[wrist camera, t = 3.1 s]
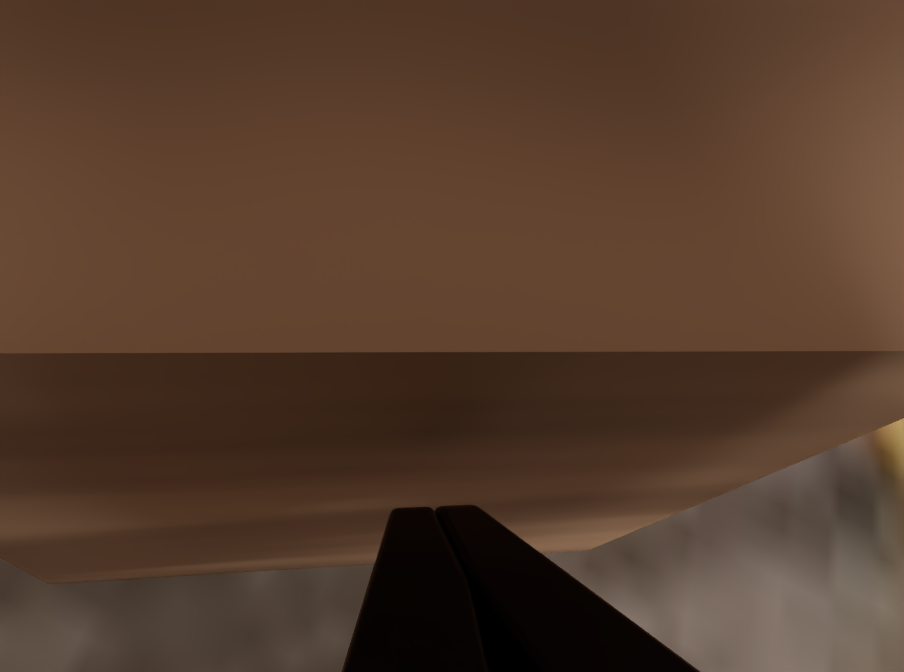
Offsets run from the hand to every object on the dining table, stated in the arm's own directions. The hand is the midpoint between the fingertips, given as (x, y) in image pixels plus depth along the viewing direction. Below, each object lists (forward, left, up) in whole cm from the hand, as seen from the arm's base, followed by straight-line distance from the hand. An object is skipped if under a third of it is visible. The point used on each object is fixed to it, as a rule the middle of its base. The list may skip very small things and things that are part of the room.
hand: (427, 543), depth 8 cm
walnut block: (+3, -1, -8) cm, 8 cm away
